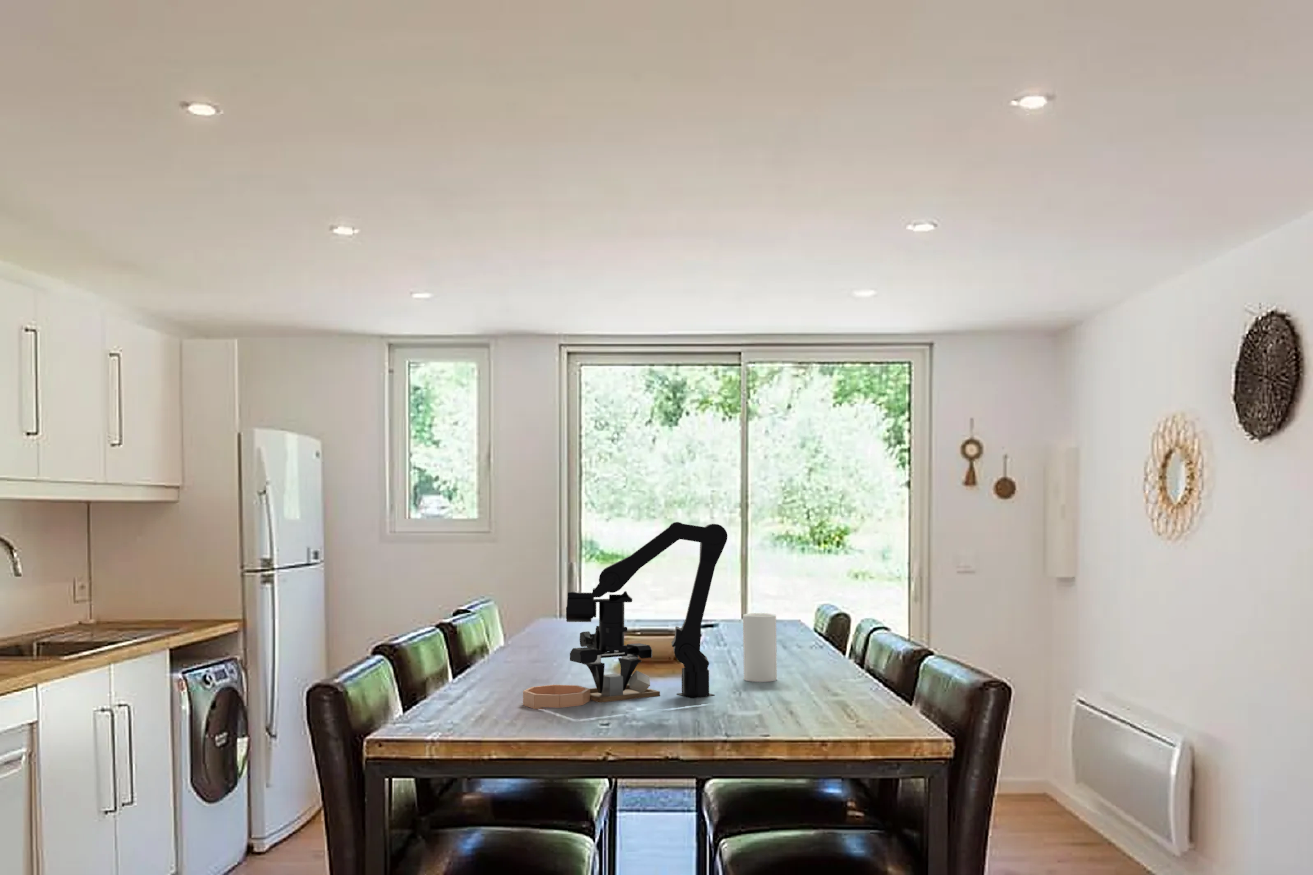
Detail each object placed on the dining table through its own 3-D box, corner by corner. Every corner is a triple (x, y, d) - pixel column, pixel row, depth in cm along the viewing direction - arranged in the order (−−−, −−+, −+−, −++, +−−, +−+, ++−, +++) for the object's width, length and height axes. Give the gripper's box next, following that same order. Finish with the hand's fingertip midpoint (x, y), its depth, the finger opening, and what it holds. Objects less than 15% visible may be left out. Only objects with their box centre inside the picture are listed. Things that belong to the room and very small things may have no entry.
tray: (659, 697, 240) (659, 691, 241) (599, 704, 232) (599, 698, 232) (630, 690, 251) (630, 684, 251) (572, 696, 243) (572, 690, 243)
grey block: (623, 695, 240) (623, 676, 241) (610, 697, 238) (610, 677, 239) (614, 693, 244) (614, 673, 244) (601, 694, 242) (601, 675, 242)
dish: (599, 705, 231) (599, 691, 232) (542, 711, 224) (542, 697, 224) (569, 696, 243) (569, 683, 243) (515, 702, 235) (515, 688, 236)
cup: (740, 681, 264) (739, 615, 265) (747, 676, 272) (746, 612, 273) (773, 682, 261) (772, 616, 262) (779, 677, 269) (778, 613, 270)
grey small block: (641, 685, 245) (649, 676, 244) (642, 694, 242) (650, 685, 241) (628, 678, 244) (636, 670, 243) (629, 687, 241) (637, 679, 240)
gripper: (628, 617, 254) (628, 683, 253) (558, 621, 244) (558, 690, 243) (653, 621, 245) (653, 690, 244) (582, 625, 235) (581, 697, 233)
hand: (611, 691), depth 241 cm, fingers open, 6 cm apart
